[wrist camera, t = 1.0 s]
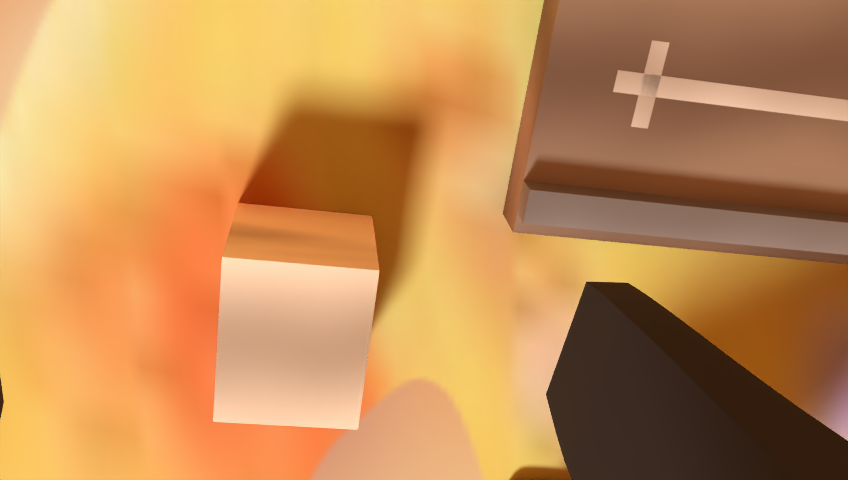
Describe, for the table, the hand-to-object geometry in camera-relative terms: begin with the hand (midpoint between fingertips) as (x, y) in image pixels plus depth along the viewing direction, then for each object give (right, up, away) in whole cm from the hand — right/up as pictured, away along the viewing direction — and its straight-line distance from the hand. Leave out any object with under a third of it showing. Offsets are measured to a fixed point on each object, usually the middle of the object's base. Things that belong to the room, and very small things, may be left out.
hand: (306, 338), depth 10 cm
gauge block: (-2, 0, +15) cm, 15 cm away
